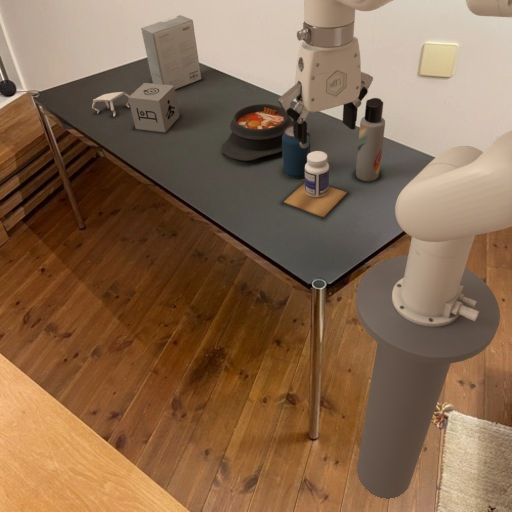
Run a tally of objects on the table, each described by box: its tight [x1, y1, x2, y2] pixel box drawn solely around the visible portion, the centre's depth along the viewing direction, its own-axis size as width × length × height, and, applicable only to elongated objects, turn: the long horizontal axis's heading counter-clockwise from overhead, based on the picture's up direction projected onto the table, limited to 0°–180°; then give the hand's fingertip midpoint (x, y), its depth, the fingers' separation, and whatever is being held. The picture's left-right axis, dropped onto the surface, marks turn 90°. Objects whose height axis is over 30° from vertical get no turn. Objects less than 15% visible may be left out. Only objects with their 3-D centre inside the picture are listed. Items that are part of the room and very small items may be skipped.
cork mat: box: [283, 182, 348, 219], centre depth 122 cm, size 11×11×1 cm
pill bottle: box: [304, 150, 330, 197], centre depth 120 cm, size 6×6×10 cm
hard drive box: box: [140, 14, 202, 90], centre depth 169 cm, size 16×8×20 cm, turn 130°
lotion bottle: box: [355, 97, 386, 182], centre depth 121 cm, size 6×6×20 cm
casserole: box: [220, 103, 293, 162], centre depth 139 cm, size 25×19×8 cm
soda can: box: [281, 125, 311, 179], centre depth 127 cm, size 7×7×12 cm
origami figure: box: [91, 91, 130, 117], centre depth 161 cm, size 12×8×5 cm
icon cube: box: [127, 82, 180, 133], centre depth 152 cm, size 10×10×10 cm
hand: (325, 133), depth 89 cm, fingers open, 9 cm apart
